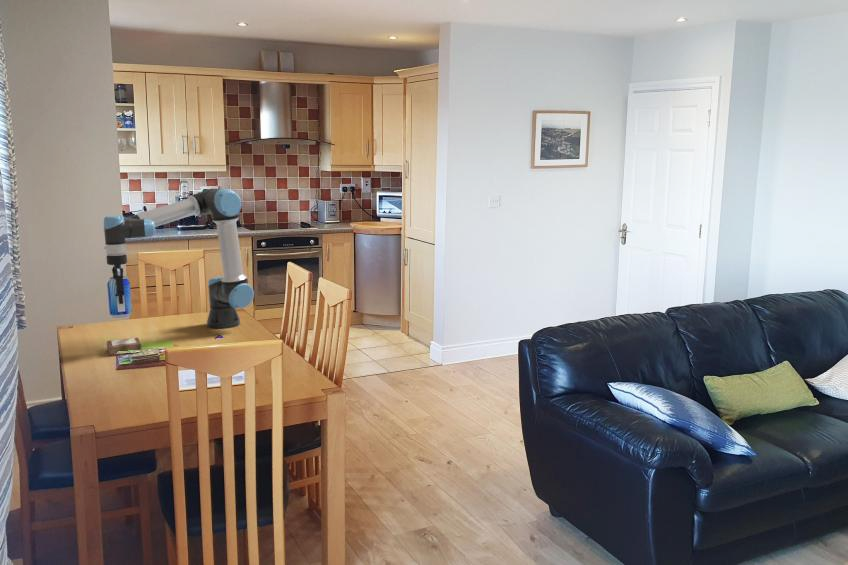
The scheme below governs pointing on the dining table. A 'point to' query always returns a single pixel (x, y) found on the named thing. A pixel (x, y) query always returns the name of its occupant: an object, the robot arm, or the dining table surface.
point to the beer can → (113, 299)
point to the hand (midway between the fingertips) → (120, 309)
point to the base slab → (123, 345)
